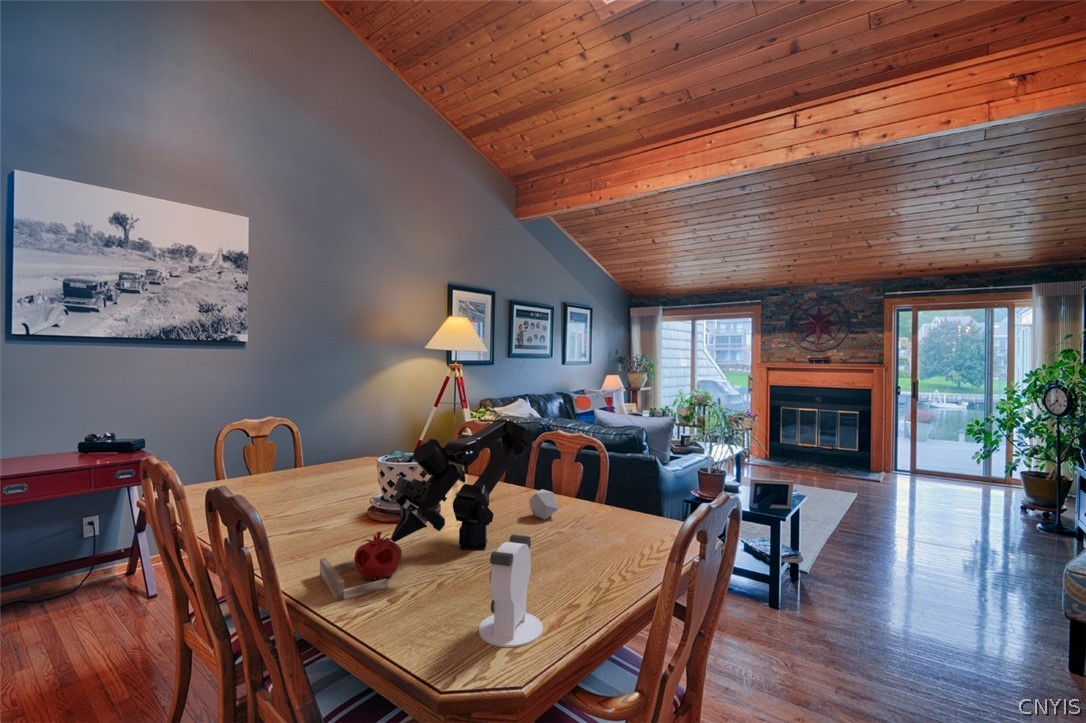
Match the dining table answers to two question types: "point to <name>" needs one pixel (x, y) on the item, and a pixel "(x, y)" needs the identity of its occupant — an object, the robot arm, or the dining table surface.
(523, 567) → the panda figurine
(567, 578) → the dining table surface
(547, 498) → the die
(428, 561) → the dining table surface
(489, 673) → the dining table surface
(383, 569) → the pomegranate
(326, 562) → the cradle
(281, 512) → the dining table surface
